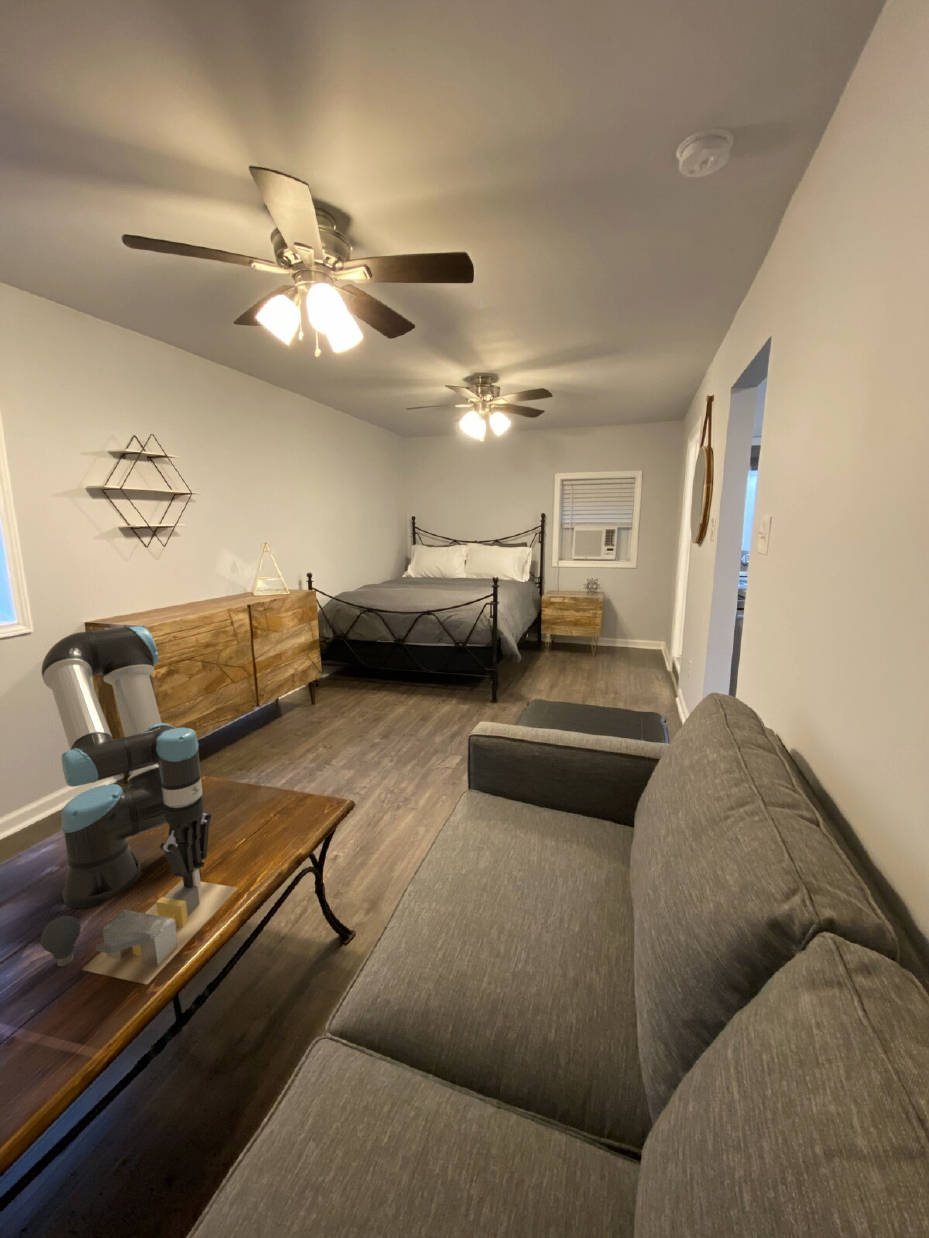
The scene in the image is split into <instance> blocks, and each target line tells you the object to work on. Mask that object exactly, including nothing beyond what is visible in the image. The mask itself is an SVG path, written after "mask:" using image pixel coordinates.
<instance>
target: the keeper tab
mask: <svg viewBox="0 0 929 1238" xmlns="http://www.w3.org/2000/svg"><path fill="white" fill-rule="evenodd" d="M150 937H151V935H150V934H145V933H140V932H136V933H133V934H130V935H126V936H123V937H119V938H116V939H113V940H109V941H106V942H104V941H103V942H99V943H97V944H96V947H95V950H94V951H95V952H99V953H101V952H104V953H109V954H110V953H113V952H116V951H119V950H122V949H126V948H129V947H132V946H135V945H138V944H141V943H144V942H147V941H149V940H150Z"/></svg>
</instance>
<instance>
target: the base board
mask: <svg viewBox="0 0 929 1238" xmlns="http://www.w3.org/2000/svg"><path fill="white" fill-rule="evenodd" d="M200 882H201V891H202V894H201V895H200V896H199V903H200V904H199V905H198V906H197V907H196V908H195V909H194V910H193V911H192V912H191V913H190V914H189V915H188V922H187V923H186V924H185V926H184V927H180V926H176V935H177V943H178V947H177V948H176V949H175V950H174V951H173V952H172V953H171V954H170V955H169V957H168V958H167V959H166V960H165V961H164V962H163V963H162V964H161V965H160V966H159V967H154V966H149V965H144V964H143V963H142V956H139V955H133V949H132V950H131V951H130V952H129V953H128V954H127V955H126V956H124V957H123V958H122V959H116V958H111V957H107V956H106V953H104V952H99V953H98V954H97V955H96V956H94V958H93V959H91V960H90V961H89V962H88V963H87V964H86V965H84V967H82V968H81V970H82V971H85V972H90V973H93V974H99V975H103V976H108V977H112V978H117V979H121V980H125V981H128V982H129V981H130V982H135V983H140V984H142V985H147V986H148V984H150V983H151V981H153V979H154V978H155V977H156V976H157V975H158V974H159V973H160V972H161V971H162V970H163V969H164V968H165V967H166V965H168V963H170V962H171V960H173V958H174V957H175V956H177V954H178V953H179V952H180V951H181V950H182V948H184V947H185V945H186V944H187V943H188V942H189V941H190V940H191V939H192V938H193V937H194V936H195V935H196V934H197V933H198V932H199V931H200V930H201V929H202V928H203V926H204V925H205V924H206V923H207V922H208V921H209V920H210V919H211V918H212V917H213V916H214V915H215V913H216V912H217V911H218V910H219V909H220V908H221V907H223V905H224V904H225V903H226V902H227V901H228V900H229V899H230V898H231V897H232V895H233V894H234V893H235V892H236V891H237V890H238V889H239V887H237V886H236V887H235V886H229V885H223V884H218V883H212V882H205V881H201V880H200ZM183 885H184V883H183V879H181V880H180V881H179V882H178V883H177V884H176V885H175V886H173V887H172V888H171V889H170V890H169V891H168V892H167V893H165V894H164V895H163V897H164V898H170V897H171V896H172V895H173V894H174V893H175V892H176V891H177V890H178V889H179V888H180V887H182V886H183ZM143 913H144V914H150V915H155V916H158V914H157V905H156V903H154V904H153V905H152V906H151V907H150V908H148V910H146V911H145V912H143Z"/></svg>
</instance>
